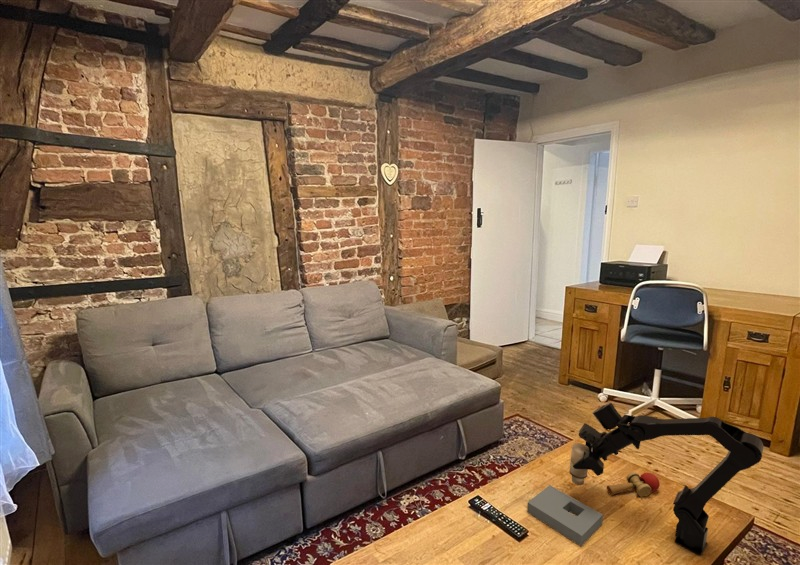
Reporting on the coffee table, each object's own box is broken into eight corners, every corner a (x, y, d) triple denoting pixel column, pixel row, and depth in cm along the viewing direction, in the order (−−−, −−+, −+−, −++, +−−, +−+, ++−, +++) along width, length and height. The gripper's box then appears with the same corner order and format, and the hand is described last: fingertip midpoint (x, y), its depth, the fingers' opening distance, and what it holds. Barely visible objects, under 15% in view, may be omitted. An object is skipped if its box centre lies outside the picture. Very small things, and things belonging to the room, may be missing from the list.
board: (601, 524, 129) (602, 514, 128) (581, 546, 121) (582, 535, 120) (549, 494, 143) (549, 485, 142) (527, 511, 134) (527, 502, 134)
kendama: (618, 507, 138) (667, 494, 141) (615, 488, 138) (664, 476, 140) (604, 495, 146) (650, 483, 148) (601, 477, 146) (647, 466, 148)
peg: (589, 482, 140) (592, 448, 137) (581, 489, 136) (584, 454, 134) (573, 474, 144) (576, 441, 141) (565, 480, 140) (568, 447, 138)
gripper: (598, 407, 142) (561, 429, 149) (594, 434, 126) (553, 457, 133) (622, 434, 140) (583, 455, 147) (621, 465, 124) (578, 486, 131)
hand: (574, 462), depth 139 cm, fingers closed on peg, 5 cm apart
